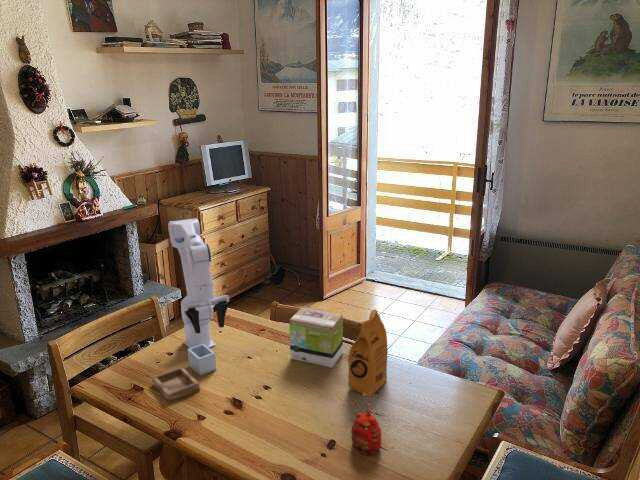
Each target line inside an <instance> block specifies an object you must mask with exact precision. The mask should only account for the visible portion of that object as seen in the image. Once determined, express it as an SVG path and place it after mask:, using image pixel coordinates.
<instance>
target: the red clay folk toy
mask: <svg viewBox="0 0 640 480" xmlns="http://www.w3.org/2000/svg"><path fill="white" fill-rule="evenodd" d="M371 391H372V390H371V389H370V393H368V395H366V394H365V392H363V393H362V397H367V398H368V403H367V406H368V407H367V410H366V413H361V412H359V413H358V414H356V418H355V420H354V422H353V424H352V426H351V427H352V428H351V430H350V433H351V441H352V443H351V444H352V447H353V448H354V451H355V452H358V453H359V452H360V453H361V454H362V455H366V456H375V455H376V453H377V452H378V451H379V450H380V448H381V446H382V429H381V427H380V424H379V421H378V420H377V419H376V418H375V416H373V415H372V413H371V409H370V408H371V406H372V404H371V398H372V396H371Z"/></svg>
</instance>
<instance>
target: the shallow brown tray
mask: <svg viewBox="0 0 640 480" xmlns="http://www.w3.org/2000/svg"><path fill="white" fill-rule="evenodd" d="M152 384H153V386H154V387H155V388H156V390H157V391H158V392H159V393H160V394H161V395H162V396H163V397H164V399H165V400H166V401H167V403H169V404H170V403H172V402H176V401H177V400H180V399H183V398H185V397H188V396H189V395H192V394H195V393H197V392H199V391H200V392H201V387H200V382H199V381H197V379H195V377H194V376H193V375H191V373H189V371H187V370H186V368H184V367H183V366H179V367H177V368H174V369H171V370H168V371H165V372H163V373H161V374H158V375H156V376H155V375H154V376H152Z"/></svg>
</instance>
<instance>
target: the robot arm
mask: <svg viewBox="0 0 640 480" xmlns="http://www.w3.org/2000/svg"><path fill="white" fill-rule="evenodd" d="M200 225H201V224H200V222H199V220H198V218H196V217H194V218H188V219H181V220H174V221H172V220H169V222H168V223H167V228H168V234H169V238H170V239H169V240H170V244H171V247H173V248H176V249H177V251H178V253H179V256H180V260H181V261H180V262H181V266H182V272H183V278H184V283H185V288H186V294H187V295H185V297H184V298H183V299H181V301H180V311H181V317H182V321H183V324H184V325H183V327H184V335H185V336H184V337H185V340H184V341H182V342H183V344H184V345H185V346H187V347H188V349H189V348H192V347H195V346H198V345H201V344H205V345H206V346H207V347H208V348H209V349H211V348H212V347H215V346H216V345H217V344H216V343H215V342H214V341H213V340H212V338H211V329H210V322H211V319H213V318H214V309H215V312H216V316H217V323H218V328H220V329H221V328H224V327H225V318H226V314H227V310H228V307H229V303H228V302H230V296H229V295H228V294H224V295H219V296H215V295H216V294H215V288H214V282H213V280H214V279H213V275H212V274H213V273H212V267H211V263H212V252H211V249H210V244H209V243H204V241H203V239H202V237H201V236H200V235H201V226H200ZM213 306H214V309H213Z"/></svg>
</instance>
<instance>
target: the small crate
mask: <svg viewBox="0 0 640 480" xmlns="http://www.w3.org/2000/svg"><path fill="white" fill-rule="evenodd" d="M187 356H188V364H189V366H188V367H190V368H191V369H192V370H193V371H194V372H196V373H197V375H198V376H199V377H202V376H205V375H208V374H210V373H212V372H215V371H217V362H216V361H217V360H216V353H215V352H214V351H213V350H212V349H211V348H208V347H207V346H206V345H205V344H201V345H198V346H195V347H192V348H189V347H188V348H187Z"/></svg>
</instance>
